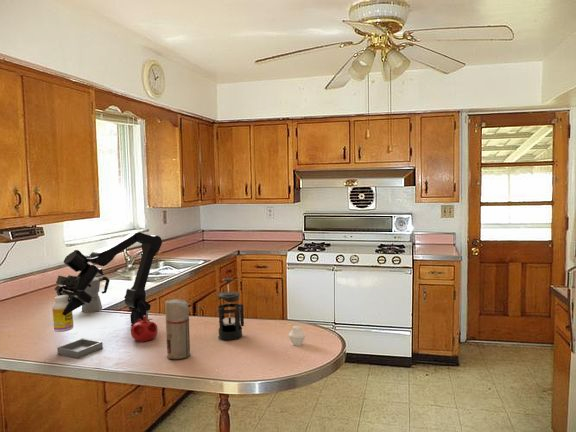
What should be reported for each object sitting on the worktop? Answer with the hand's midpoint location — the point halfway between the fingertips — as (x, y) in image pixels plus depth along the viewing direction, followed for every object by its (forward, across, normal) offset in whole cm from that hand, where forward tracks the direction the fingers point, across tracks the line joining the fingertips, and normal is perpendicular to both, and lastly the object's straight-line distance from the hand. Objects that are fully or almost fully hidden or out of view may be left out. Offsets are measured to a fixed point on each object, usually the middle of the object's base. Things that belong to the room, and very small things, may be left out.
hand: (58, 313), depth 177 cm
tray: (+8, +10, +11) cm, 17 cm away
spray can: (-4, +44, +24) cm, 50 cm away
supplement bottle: (+4, 0, +6) cm, 7 cm away
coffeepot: (-15, -40, +35) cm, 55 cm away
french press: (-22, +46, +41) cm, 65 cm away
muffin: (-27, +72, +46) cm, 90 cm away
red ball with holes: (-7, +19, +26) cm, 33 cm away
